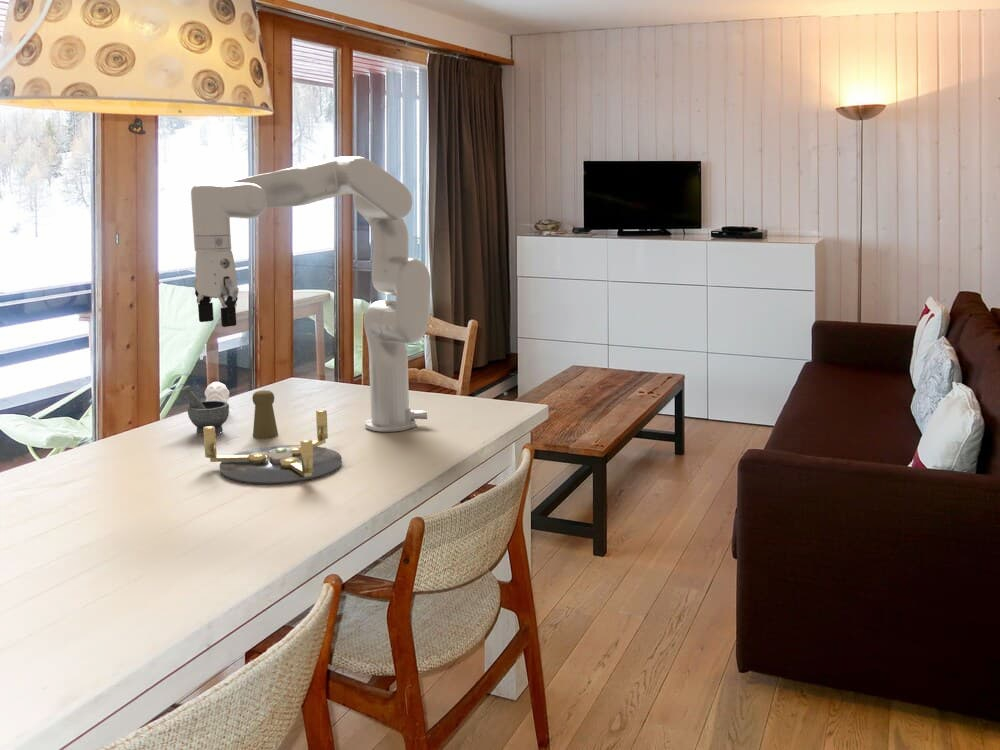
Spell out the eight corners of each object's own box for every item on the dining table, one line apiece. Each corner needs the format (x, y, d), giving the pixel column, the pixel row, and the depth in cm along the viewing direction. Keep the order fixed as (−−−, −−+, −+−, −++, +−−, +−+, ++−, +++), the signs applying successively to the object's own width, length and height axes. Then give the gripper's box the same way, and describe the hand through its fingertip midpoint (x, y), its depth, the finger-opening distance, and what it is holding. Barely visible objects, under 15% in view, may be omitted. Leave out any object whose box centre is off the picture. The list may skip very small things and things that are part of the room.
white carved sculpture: (229, 379, 271) (225, 393, 260) (231, 409, 274) (227, 424, 262) (204, 380, 270) (199, 394, 259) (207, 410, 273) (202, 425, 261)
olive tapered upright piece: (272, 439, 245) (269, 394, 243) (248, 437, 246) (245, 393, 244) (282, 432, 251) (279, 388, 248) (259, 431, 252) (256, 388, 250)
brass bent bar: (297, 457, 224) (295, 423, 222) (282, 455, 226) (280, 421, 224) (333, 442, 235) (331, 410, 234) (318, 440, 237) (317, 409, 235)
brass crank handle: (277, 464, 218) (275, 430, 217) (295, 461, 221) (293, 427, 219) (301, 480, 208) (299, 444, 206) (319, 476, 210) (317, 440, 208)
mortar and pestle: (231, 426, 257) (228, 379, 254) (228, 436, 248) (225, 387, 245) (185, 428, 255) (182, 382, 253) (180, 438, 246) (177, 390, 244)
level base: (347, 448, 236) (346, 432, 235) (335, 483, 210) (334, 465, 209) (233, 451, 234) (232, 435, 234) (207, 486, 209) (206, 468, 208)
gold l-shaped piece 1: (268, 457, 224) (266, 424, 222) (265, 462, 220) (263, 428, 218) (207, 459, 223) (205, 425, 222) (203, 464, 219) (201, 430, 218)
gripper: (249, 244, 212) (254, 326, 216) (208, 240, 224) (213, 317, 228) (216, 246, 207) (221, 330, 211) (176, 242, 219) (182, 321, 223)
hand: (217, 323), depth 219 cm, fingers open, 9 cm apart
